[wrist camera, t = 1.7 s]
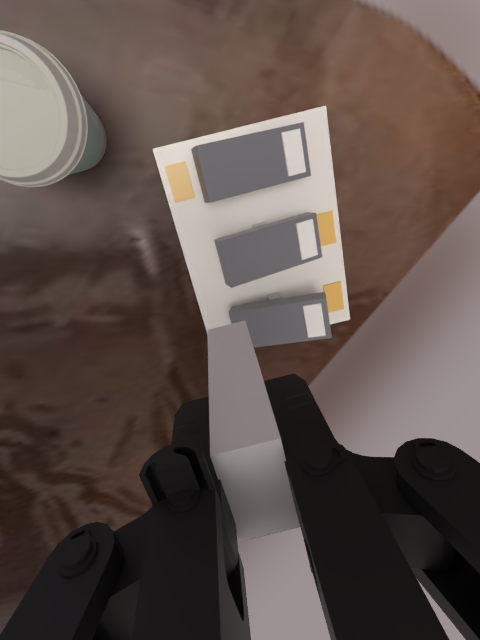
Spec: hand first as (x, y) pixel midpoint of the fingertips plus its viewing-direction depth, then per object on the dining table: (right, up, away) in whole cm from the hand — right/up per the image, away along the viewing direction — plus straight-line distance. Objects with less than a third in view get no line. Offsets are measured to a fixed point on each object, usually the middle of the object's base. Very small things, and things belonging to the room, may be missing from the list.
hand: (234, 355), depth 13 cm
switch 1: (+1, +14, +14) cm, 20 cm away
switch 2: (+3, +8, +17) cm, 19 cm away
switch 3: (+4, +2, +20) cm, 20 cm away
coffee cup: (-15, +18, +18) cm, 30 cm away
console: (+2, +10, +23) cm, 25 cm away
